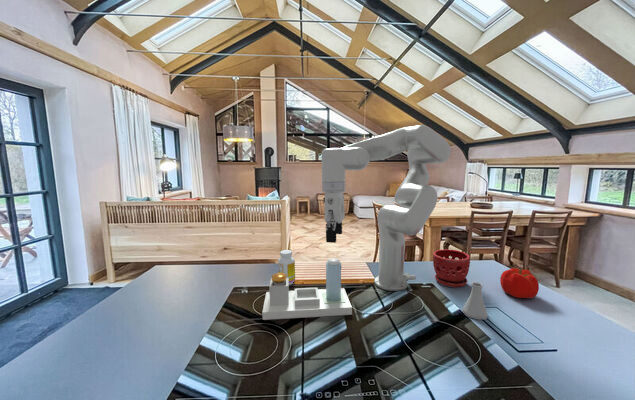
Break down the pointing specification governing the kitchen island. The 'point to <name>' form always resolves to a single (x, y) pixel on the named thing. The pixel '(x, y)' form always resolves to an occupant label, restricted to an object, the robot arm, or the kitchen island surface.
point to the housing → (302, 303)
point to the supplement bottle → (287, 265)
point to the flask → (475, 303)
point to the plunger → (279, 278)
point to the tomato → (519, 283)
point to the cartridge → (333, 279)
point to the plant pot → (451, 267)
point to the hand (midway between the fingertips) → (334, 237)
